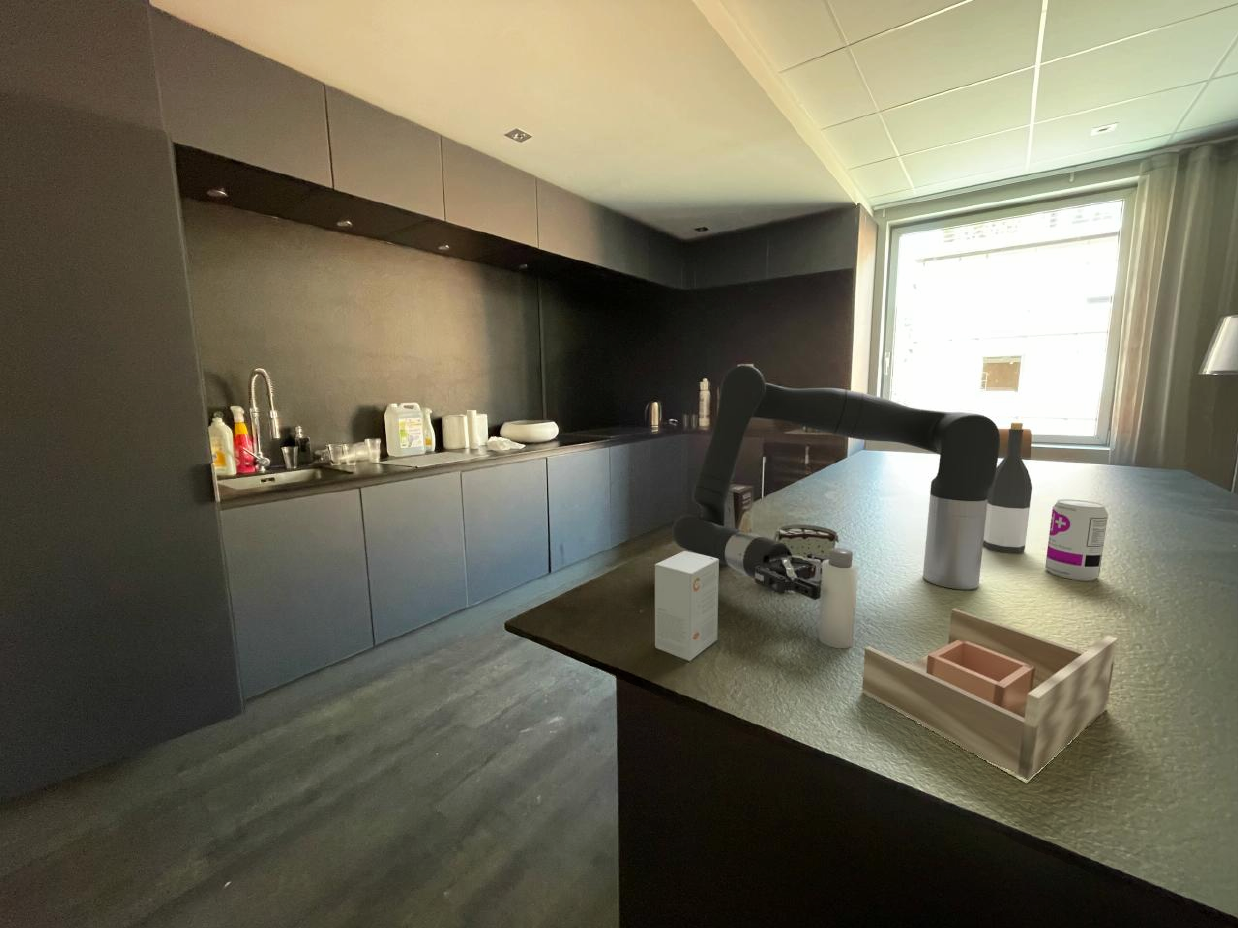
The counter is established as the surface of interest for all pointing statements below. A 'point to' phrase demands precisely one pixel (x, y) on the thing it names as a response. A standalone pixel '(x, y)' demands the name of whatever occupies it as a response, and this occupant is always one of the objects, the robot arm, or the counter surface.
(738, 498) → the coffee box
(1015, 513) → the wine bottle
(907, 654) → the counter surface
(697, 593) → the small box
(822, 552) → the food container
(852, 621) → the white plastic bottle
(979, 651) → the wooden tray
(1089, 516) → the supplement can
